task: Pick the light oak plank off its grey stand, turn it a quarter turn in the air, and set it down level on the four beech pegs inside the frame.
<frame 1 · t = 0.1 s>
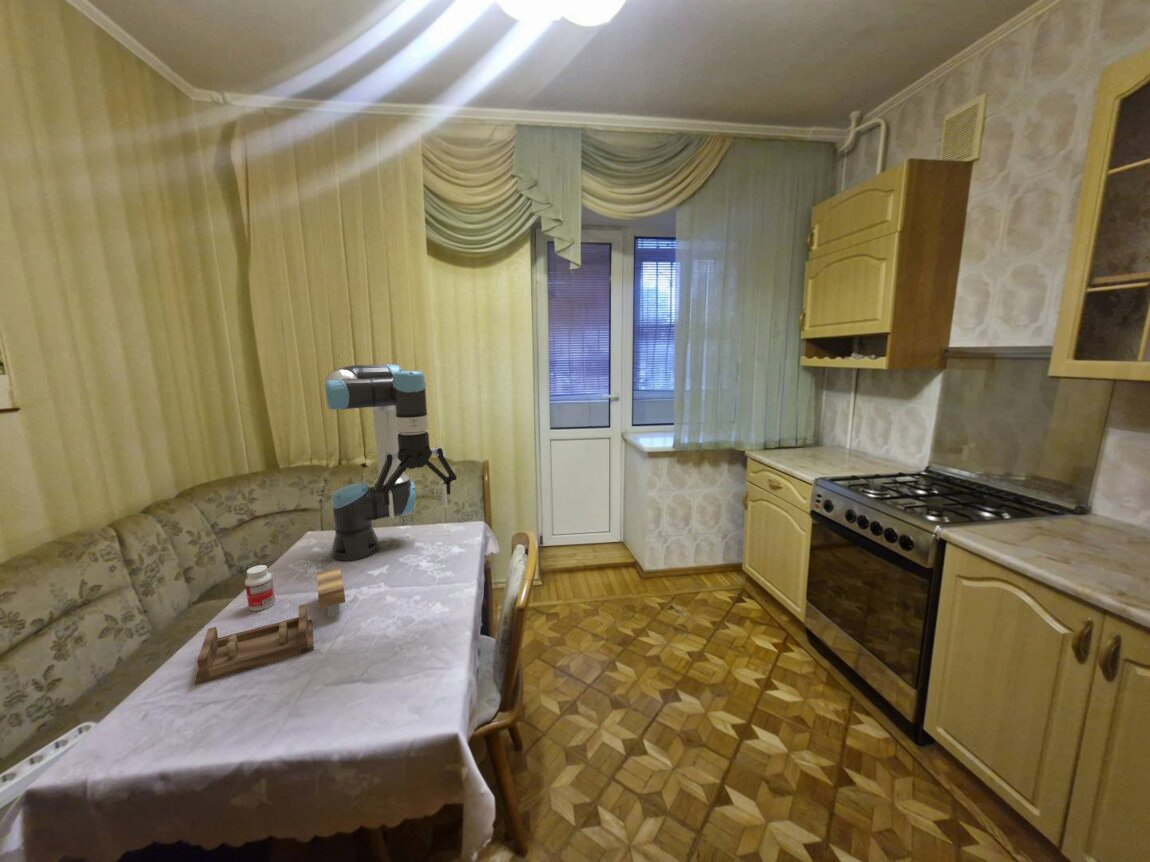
hand: (419, 511, 120), 28 cm above the table, fingers open, 13 cm apart
peg frame: (259, 650, 109), on the table
plank: (331, 593, 126), point 4 cm above the table, touching stand
pill bottle: (262, 606, 128), on the table
stand: (333, 606, 127), on the table
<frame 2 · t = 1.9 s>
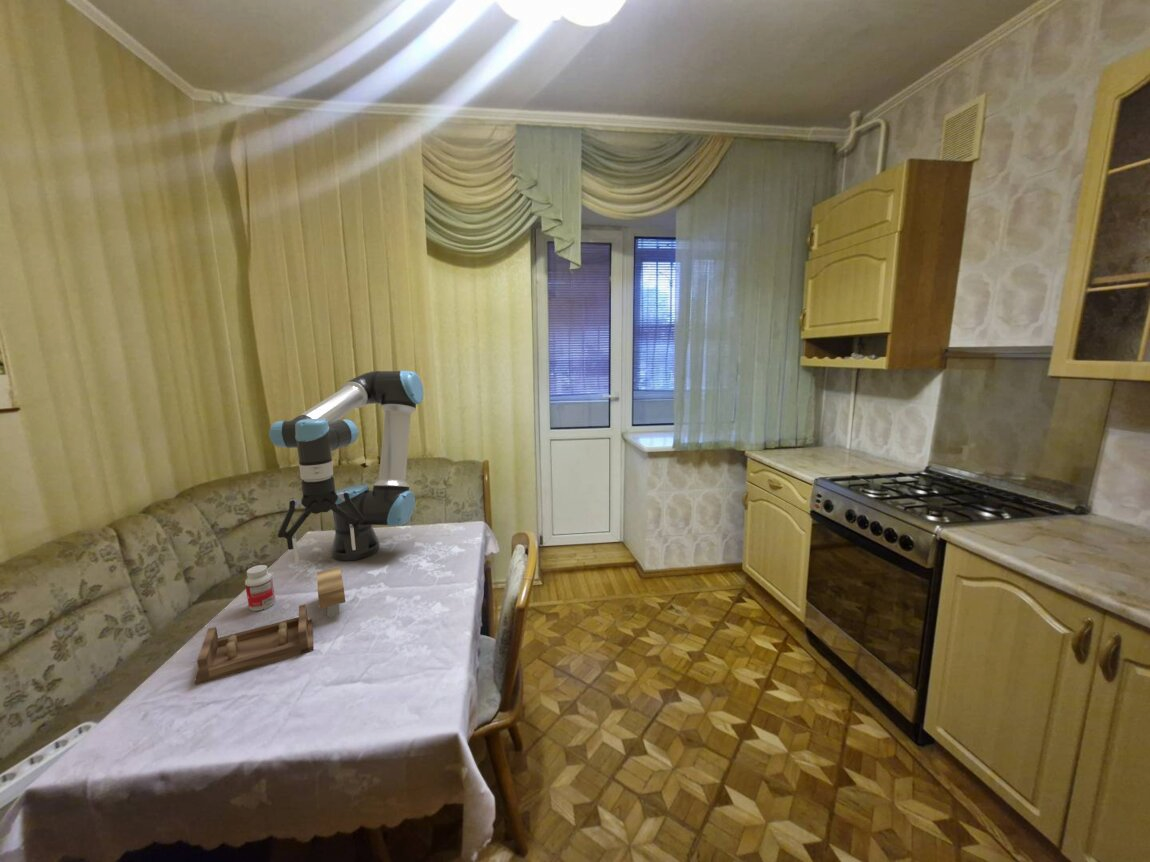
hand: (326, 554, 123), 16 cm above the table, fingers open, 13 cm apart
nothing on the table moved.
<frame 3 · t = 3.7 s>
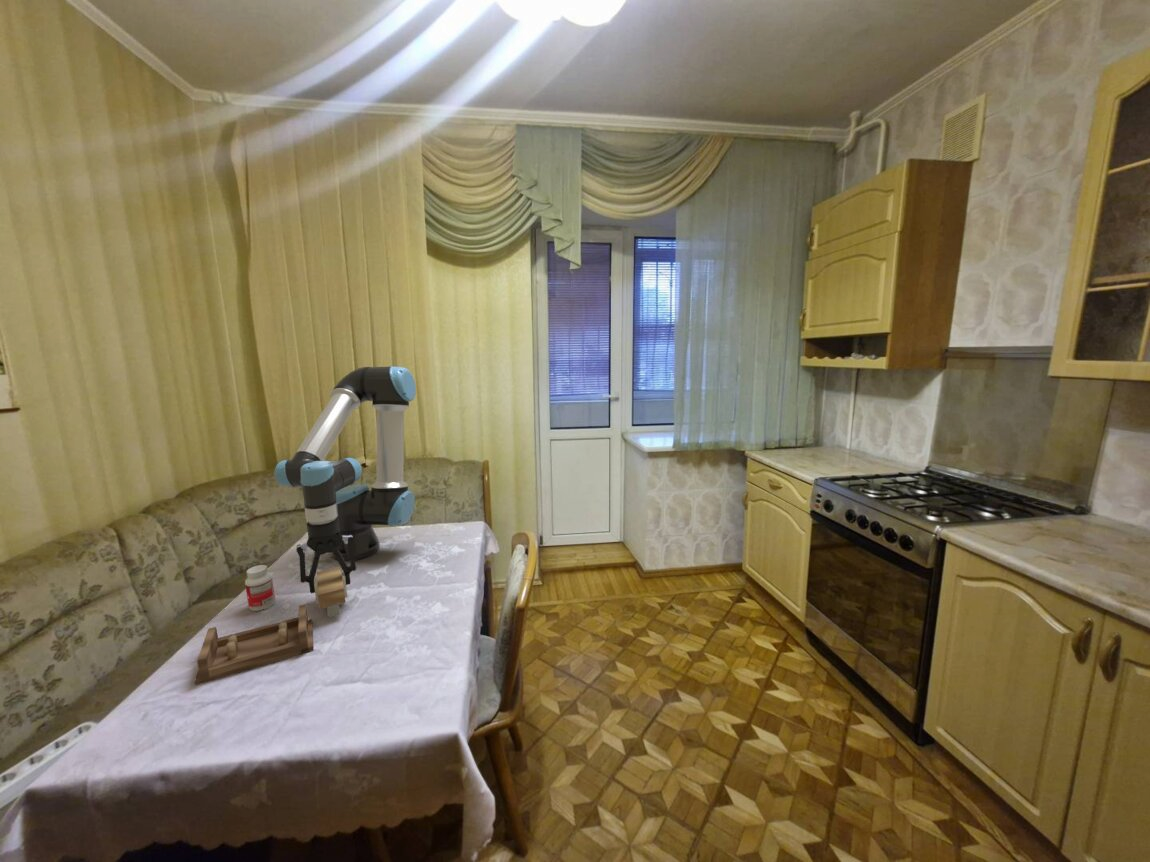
hand: (332, 598, 126), 2 cm above the table, fingers closed on plank, 6 cm apart
plank: (331, 593, 126), point 4 cm above the table, touching gripper, stand
everything else where it was.
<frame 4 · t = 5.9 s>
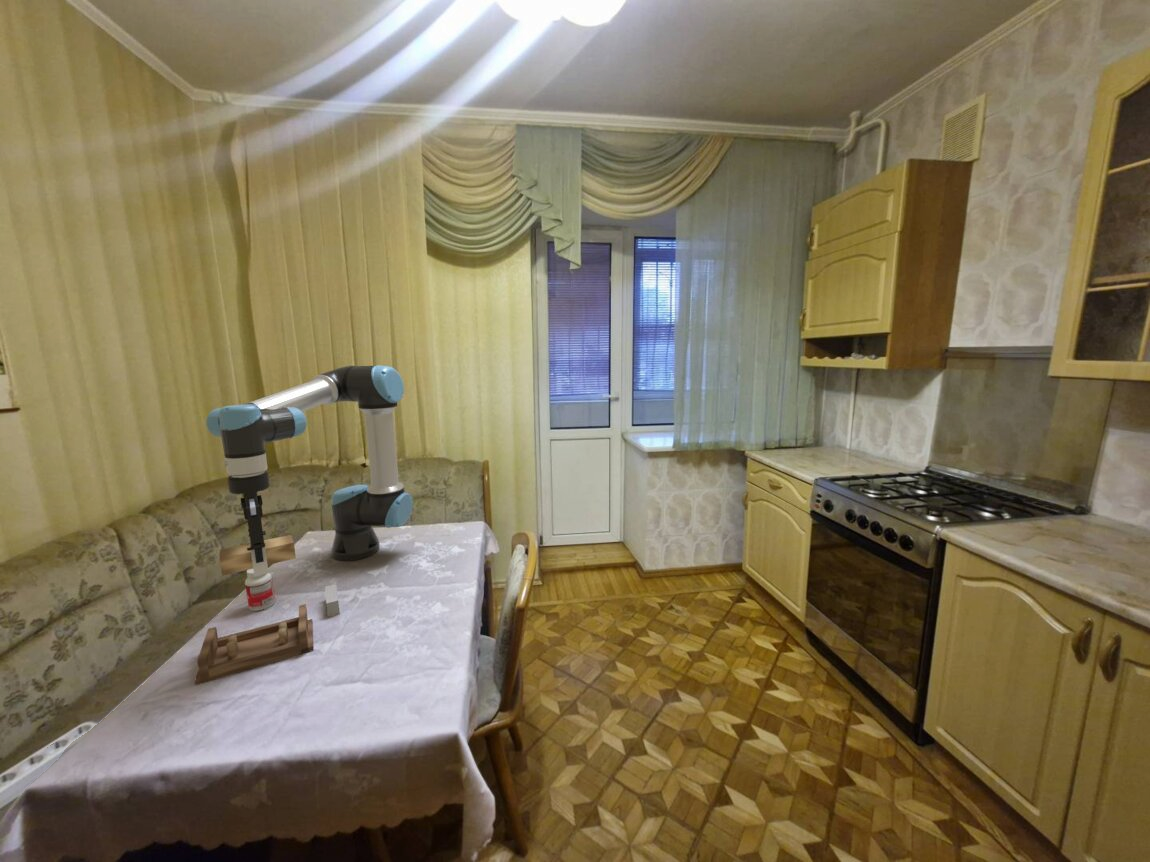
hand: (260, 568, 107), 20 cm above the table, fingers closed on plank, 6 cm apart
plank: (259, 562, 107), point 21 cm above the table, touching gripper
everything else where it was.
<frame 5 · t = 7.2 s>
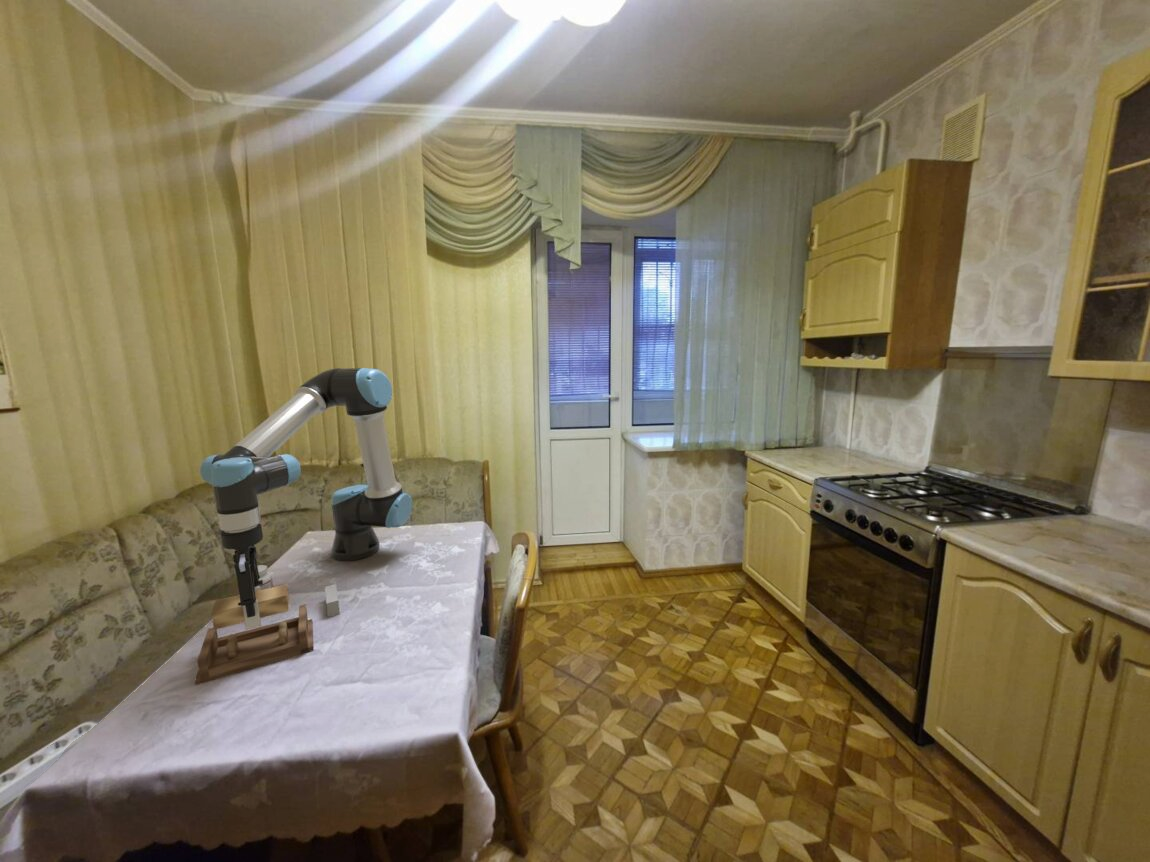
hand: (255, 619, 107), 8 cm above the table, fingers closed on plank, 6 cm apart
plank: (253, 613, 107), point 10 cm above the table, touching gripper
everything else where it was.
when the fingers open (5 cm above the table, at t = 8.2 s): plank drops 2 cm, resting on peg frame.
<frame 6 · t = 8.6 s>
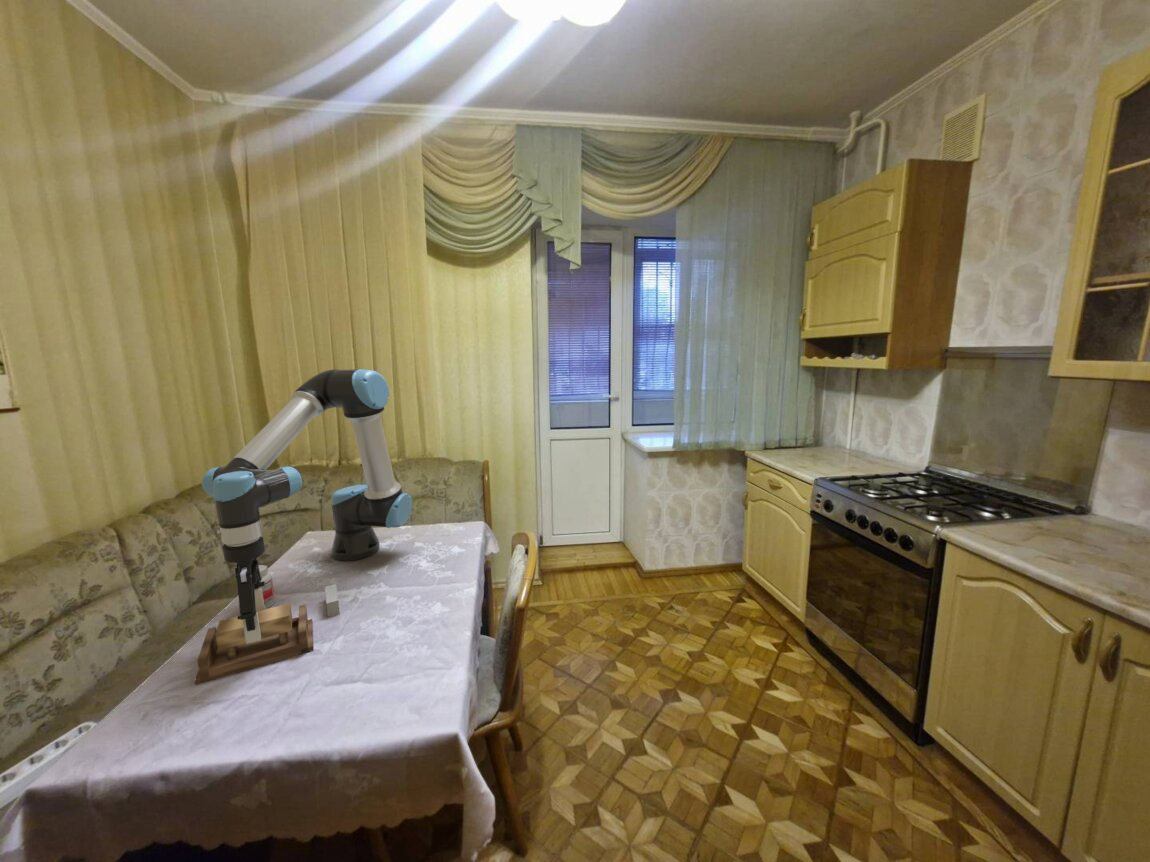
hand: (256, 627, 107), 6 cm above the table, fingers open, 11 cm apart
plank: (257, 633, 108), point 4 cm above the table, touching peg frame
everything else where it was.
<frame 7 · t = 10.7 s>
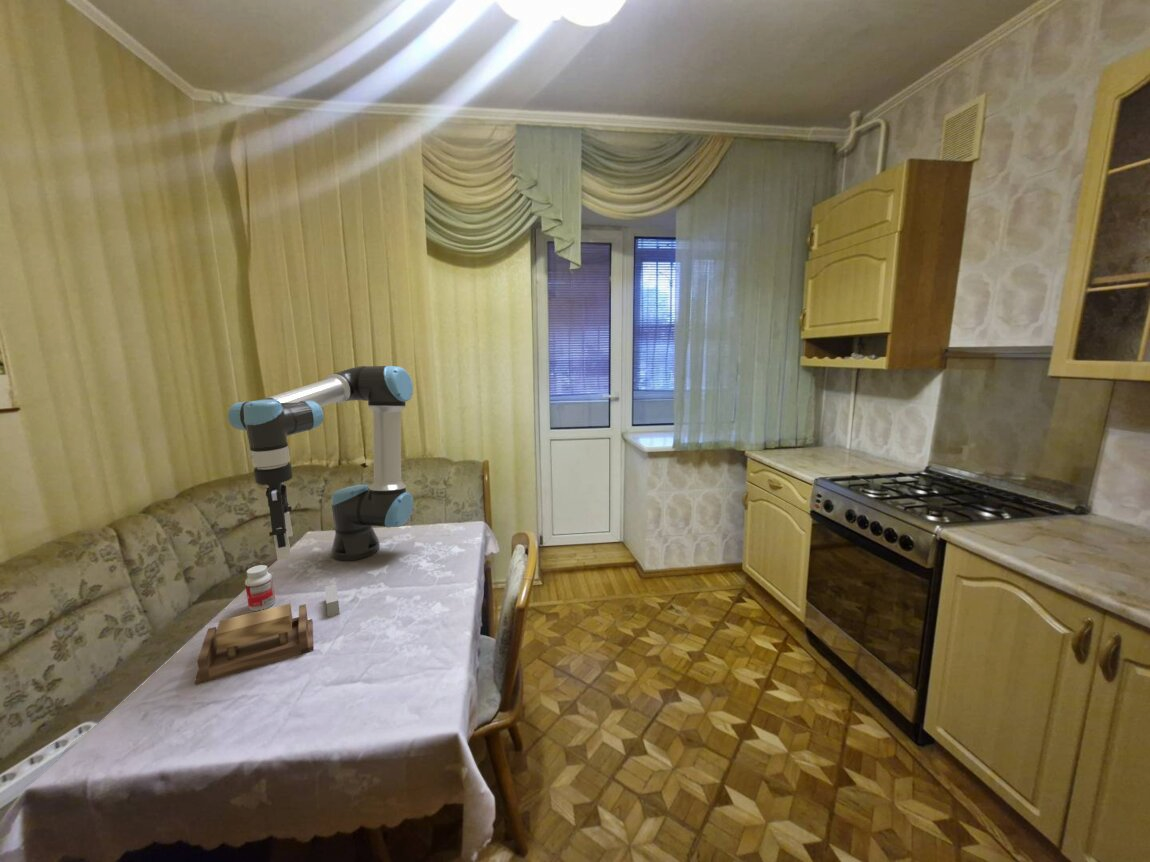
hand: (285, 547, 114), 22 cm above the table, fingers open, 13 cm apart
nothing on the table moved.
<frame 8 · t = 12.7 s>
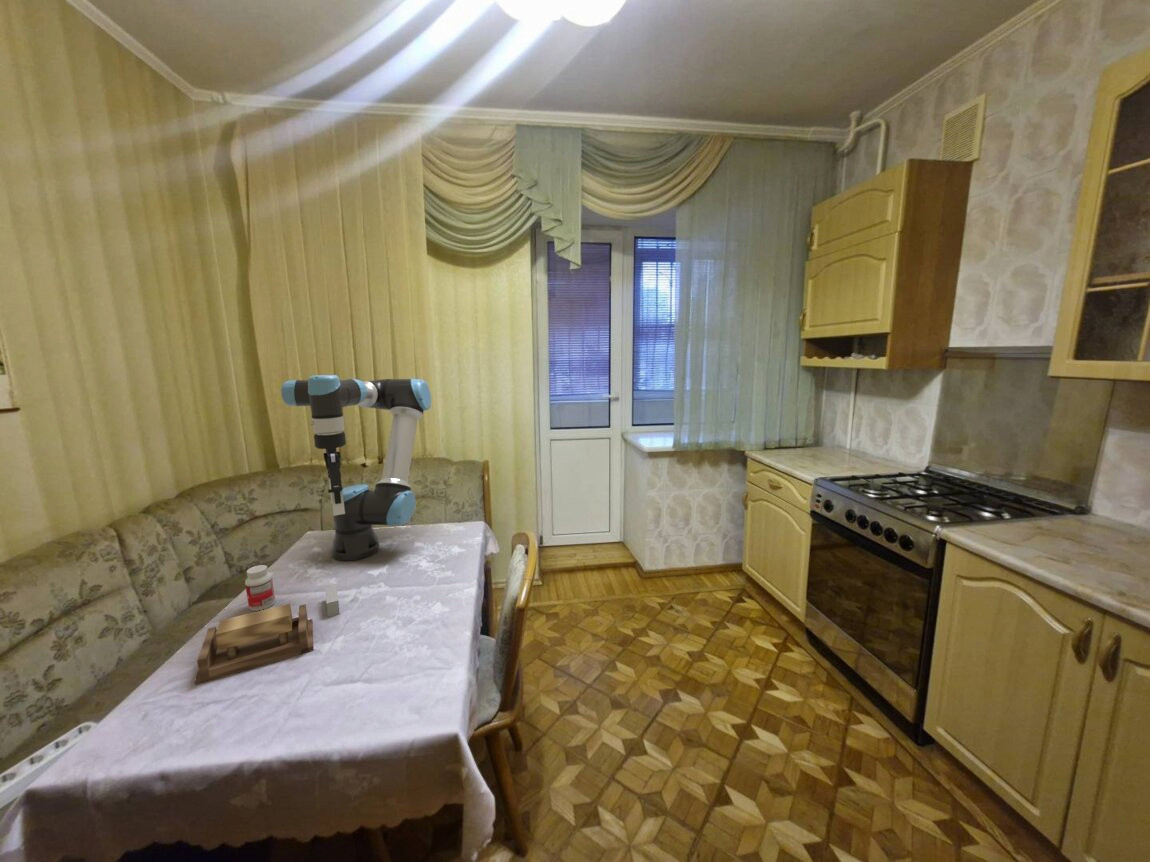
hand: (337, 507, 128), 27 cm above the table, fingers open, 13 cm apart
nothing on the table moved.
at the end: plank 0.1 cm off-centre on the peg frame, point 4.5 cm above the peg frame's base; plank tilted 0°; the gripper is holding nothing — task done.
